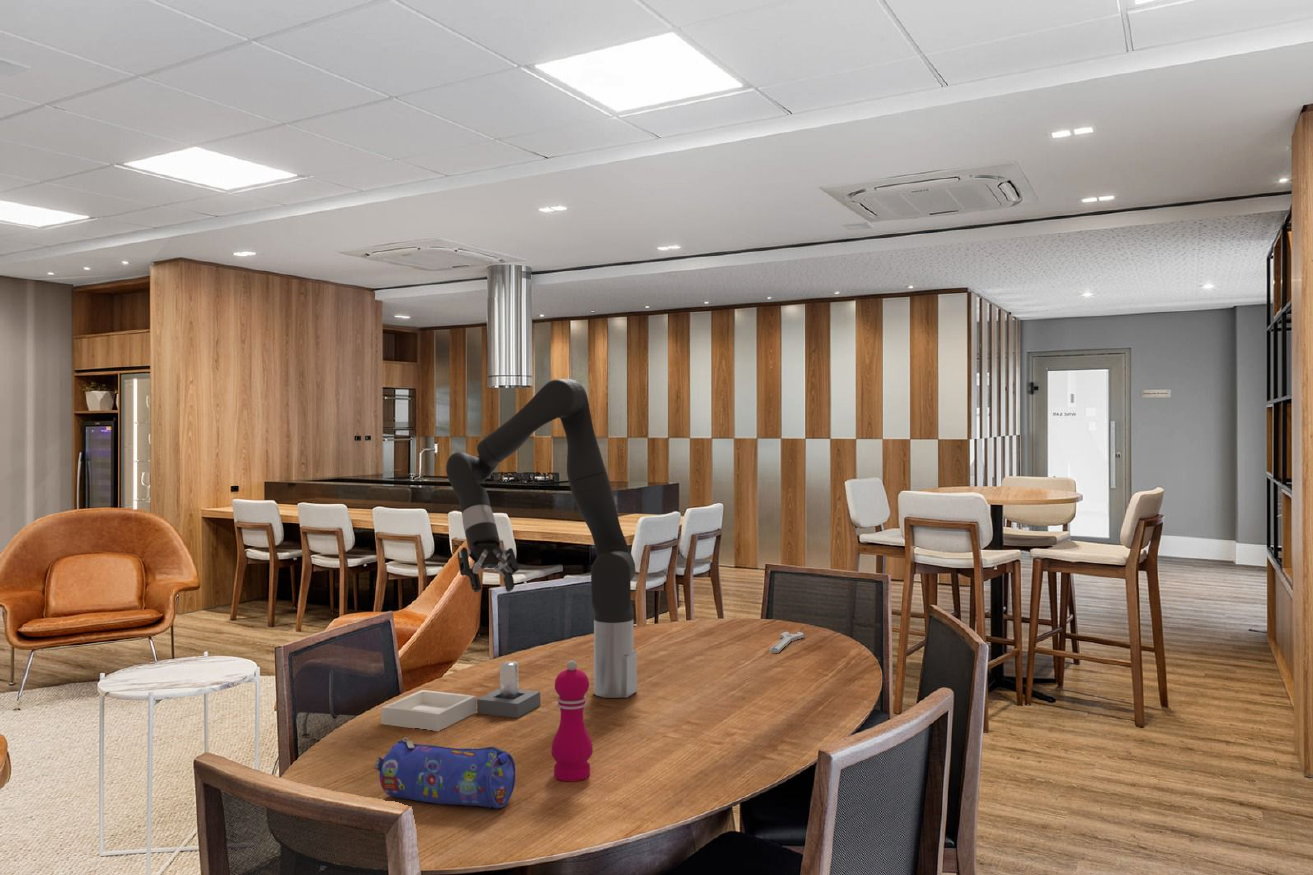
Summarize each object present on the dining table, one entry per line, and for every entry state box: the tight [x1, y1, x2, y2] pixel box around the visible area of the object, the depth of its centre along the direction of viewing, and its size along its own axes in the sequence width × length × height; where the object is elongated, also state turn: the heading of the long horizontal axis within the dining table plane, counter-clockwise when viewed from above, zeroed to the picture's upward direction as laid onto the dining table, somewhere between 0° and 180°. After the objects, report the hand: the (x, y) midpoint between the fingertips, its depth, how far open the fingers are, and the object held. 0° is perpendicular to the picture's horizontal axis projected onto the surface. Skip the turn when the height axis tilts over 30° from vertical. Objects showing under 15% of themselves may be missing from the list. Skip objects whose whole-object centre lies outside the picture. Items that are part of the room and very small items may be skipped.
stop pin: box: [499, 660, 519, 700], centre depth 195 cm, size 4×4×10 cm
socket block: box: [476, 687, 541, 719], centre depth 195 cm, size 10×10×3 cm
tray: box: [381, 689, 477, 733], centre depth 189 cm, size 14×14×4 cm
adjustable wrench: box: [769, 631, 804, 654], centre depth 259 cm, size 25×6×2 cm, turn 153°
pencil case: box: [373, 737, 516, 810], centre depth 145 cm, size 22×9×10 cm, turn 74°
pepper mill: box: [550, 660, 594, 782], centre depth 156 cm, size 7×7×20 cm
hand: (494, 590), depth 205 cm, fingers open, 8 cm apart
